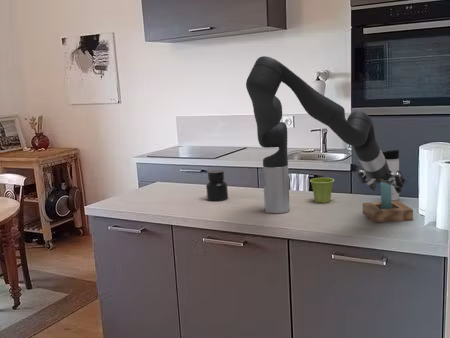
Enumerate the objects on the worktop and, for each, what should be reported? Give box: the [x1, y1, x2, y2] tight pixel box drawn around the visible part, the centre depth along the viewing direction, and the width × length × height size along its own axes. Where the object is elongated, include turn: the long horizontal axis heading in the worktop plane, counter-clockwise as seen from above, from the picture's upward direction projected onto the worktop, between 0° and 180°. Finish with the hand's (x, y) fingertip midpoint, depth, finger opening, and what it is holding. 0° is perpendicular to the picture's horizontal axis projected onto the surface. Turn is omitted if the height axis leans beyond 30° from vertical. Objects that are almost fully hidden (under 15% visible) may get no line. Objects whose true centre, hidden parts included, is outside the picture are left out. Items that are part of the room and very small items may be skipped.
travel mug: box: [382, 149, 400, 201], centre depth 186 cm, size 6×7×20 cm
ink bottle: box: [205, 169, 229, 202], centre depth 208 cm, size 10×9×12 cm
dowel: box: [380, 170, 392, 209], centre depth 167 cm, size 3×3×16 cm
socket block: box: [362, 200, 414, 223], centre depth 168 cm, size 13×13×4 cm
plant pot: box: [309, 177, 335, 204], centre depth 193 cm, size 9×9×9 cm
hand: (386, 189), depth 166 cm, fingers open, 8 cm apart
